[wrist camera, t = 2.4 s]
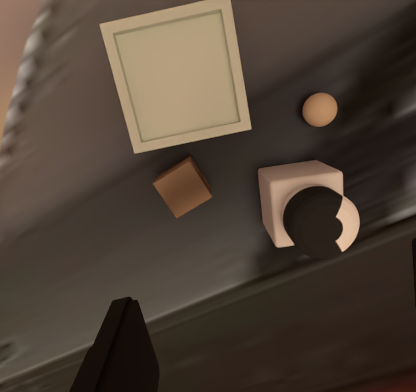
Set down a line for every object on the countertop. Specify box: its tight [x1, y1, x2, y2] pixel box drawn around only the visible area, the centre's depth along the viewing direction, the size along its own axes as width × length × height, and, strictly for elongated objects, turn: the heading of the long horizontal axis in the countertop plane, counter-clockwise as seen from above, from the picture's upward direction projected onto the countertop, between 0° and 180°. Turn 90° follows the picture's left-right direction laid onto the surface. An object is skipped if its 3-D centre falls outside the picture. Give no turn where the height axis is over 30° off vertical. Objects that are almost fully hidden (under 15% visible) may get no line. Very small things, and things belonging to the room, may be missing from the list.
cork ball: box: [303, 93, 337, 127], centre depth 34 cm, size 4×4×4 cm
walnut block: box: [153, 155, 212, 218], centre depth 35 cm, size 4×4×4 cm
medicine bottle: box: [258, 160, 360, 258], centre depth 32 cm, size 7×7×12 cm
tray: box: [100, 0, 251, 154], centre depth 33 cm, size 13×13×2 cm
